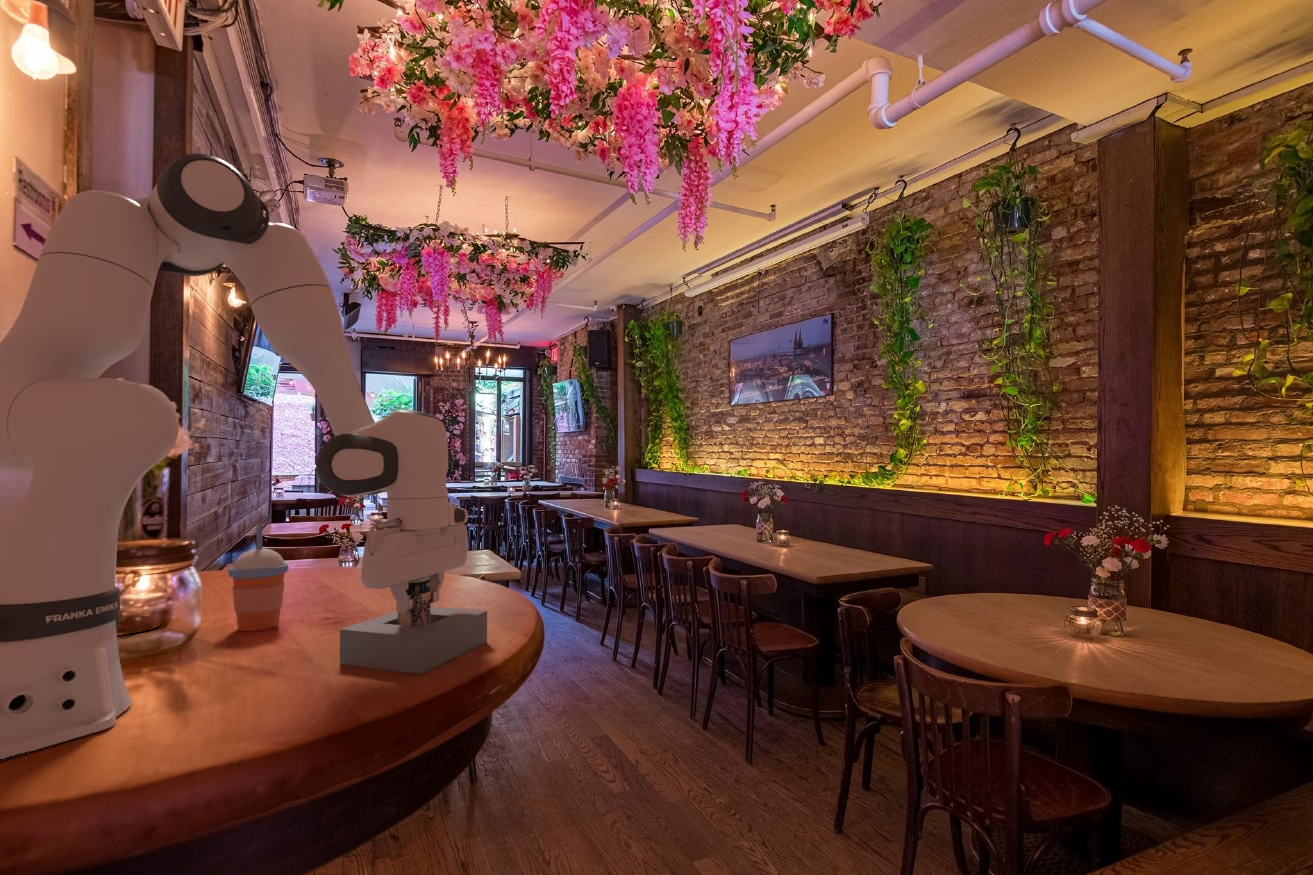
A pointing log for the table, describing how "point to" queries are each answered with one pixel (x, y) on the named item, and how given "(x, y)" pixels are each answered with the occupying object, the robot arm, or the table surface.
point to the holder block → (412, 640)
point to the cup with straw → (258, 587)
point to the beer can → (418, 604)
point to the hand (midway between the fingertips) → (418, 606)
